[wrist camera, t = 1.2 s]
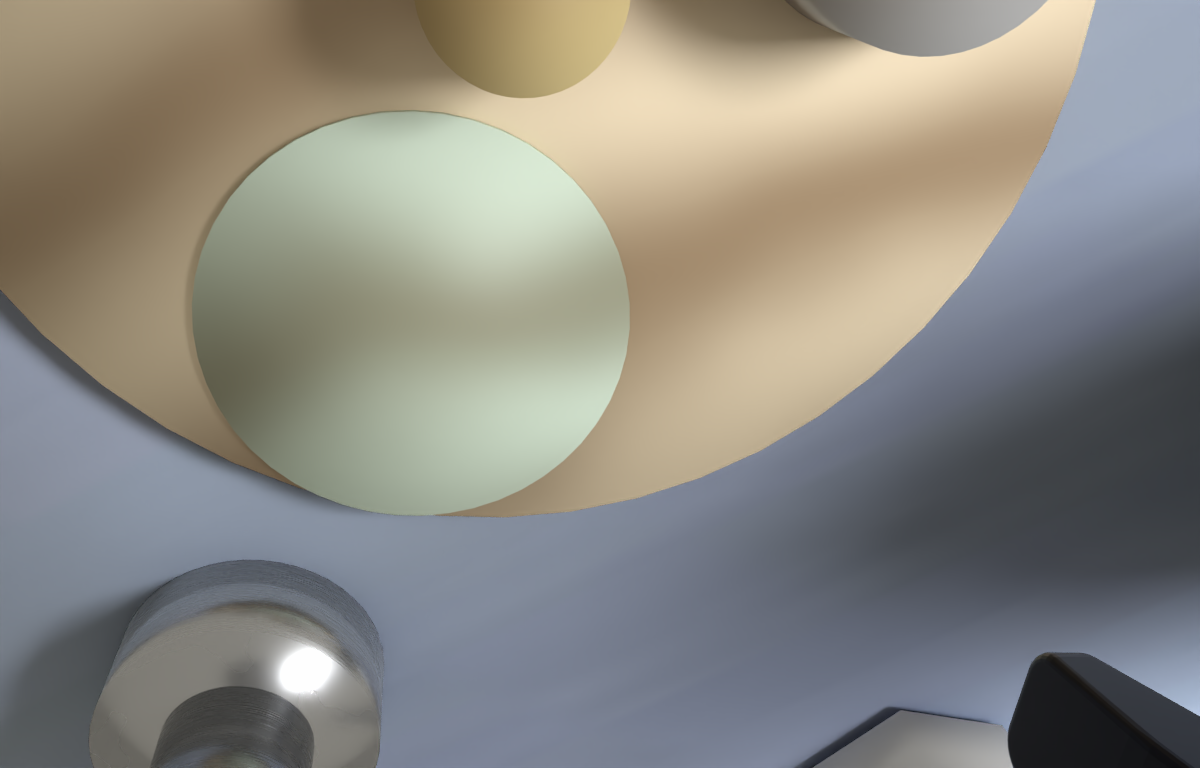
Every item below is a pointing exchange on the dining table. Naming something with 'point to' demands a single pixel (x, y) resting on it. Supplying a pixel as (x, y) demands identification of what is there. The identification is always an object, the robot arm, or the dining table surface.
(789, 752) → the dining table surface
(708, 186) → the carrier plate
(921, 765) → the flask
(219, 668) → the silver metal knob
